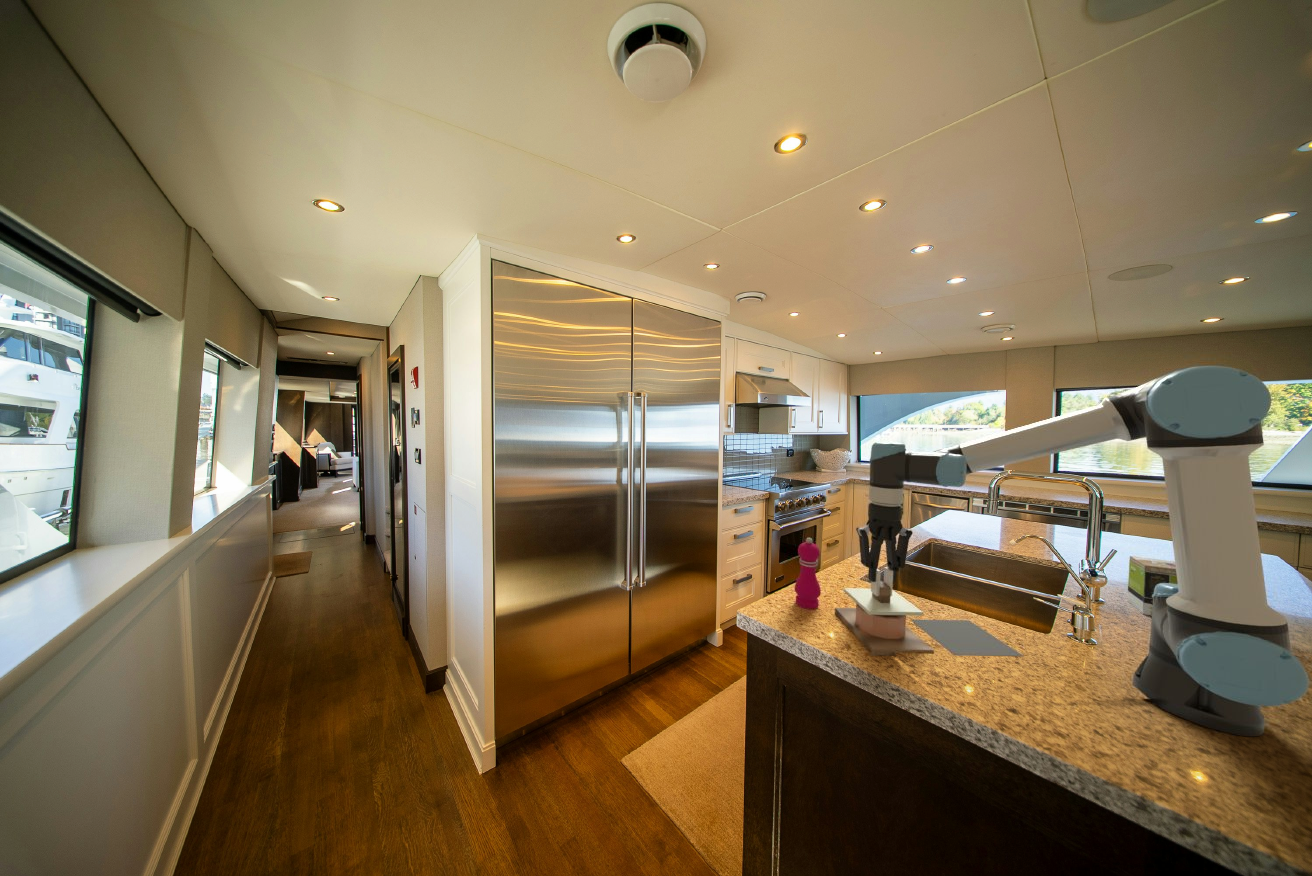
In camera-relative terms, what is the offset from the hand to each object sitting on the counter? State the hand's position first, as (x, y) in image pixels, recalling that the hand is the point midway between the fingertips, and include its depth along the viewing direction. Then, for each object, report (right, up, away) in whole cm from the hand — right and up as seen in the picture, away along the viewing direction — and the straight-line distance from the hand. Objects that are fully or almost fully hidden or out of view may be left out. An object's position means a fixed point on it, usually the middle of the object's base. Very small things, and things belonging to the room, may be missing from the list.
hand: (881, 593), depth 101 cm
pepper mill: (-13, -10, +16) cm, 22 cm away
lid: (0, -2, 0) cm, 2 cm away
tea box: (+91, -11, +12) cm, 92 cm away
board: (0, -10, +1) cm, 10 cm away
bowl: (0, -9, +1) cm, 9 cm away
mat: (+19, -11, -2) cm, 22 cm away
